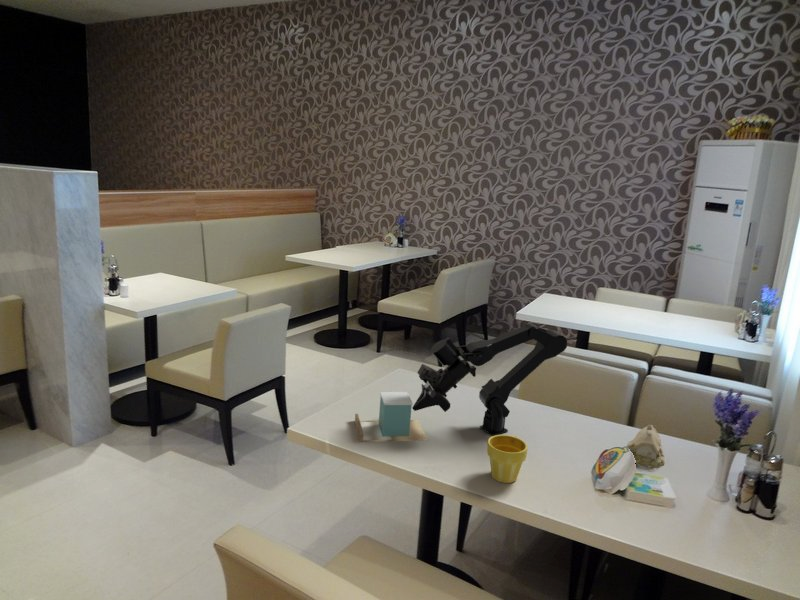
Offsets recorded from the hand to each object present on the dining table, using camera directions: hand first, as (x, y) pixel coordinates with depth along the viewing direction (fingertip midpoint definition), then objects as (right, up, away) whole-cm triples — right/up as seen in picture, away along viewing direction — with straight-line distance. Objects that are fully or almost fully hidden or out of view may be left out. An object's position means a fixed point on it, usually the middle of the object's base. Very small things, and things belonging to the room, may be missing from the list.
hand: (413, 409), depth 174 cm
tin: (-6, -6, 0) cm, 9 cm away
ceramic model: (+68, -14, -4) cm, 70 cm away
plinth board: (-7, -7, 0) cm, 10 cm away
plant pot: (+24, -14, -21) cm, 35 cm away
